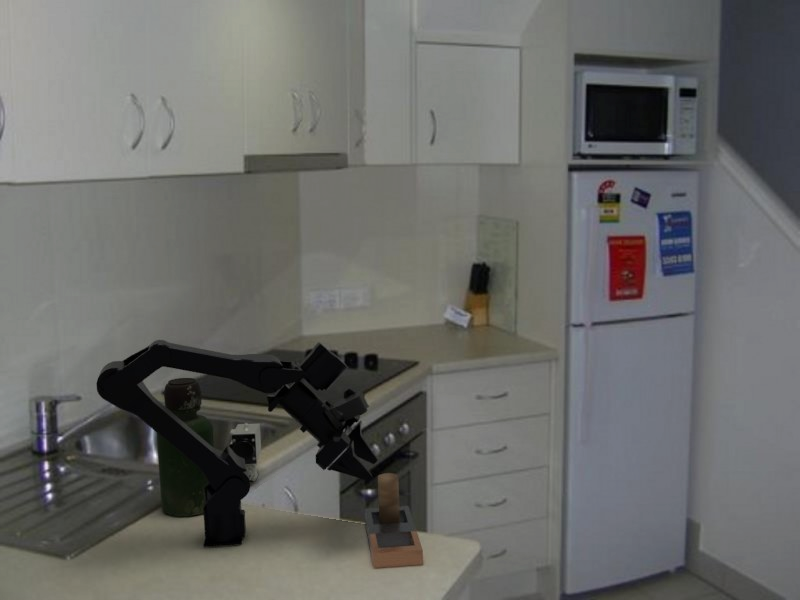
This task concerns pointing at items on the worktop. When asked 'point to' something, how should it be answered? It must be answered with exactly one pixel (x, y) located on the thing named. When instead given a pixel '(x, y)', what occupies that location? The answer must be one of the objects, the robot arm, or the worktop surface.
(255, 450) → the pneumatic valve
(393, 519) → the walnut peg
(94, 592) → the worktop surface
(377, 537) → the grey copper flat frame
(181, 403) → the spray bottle
